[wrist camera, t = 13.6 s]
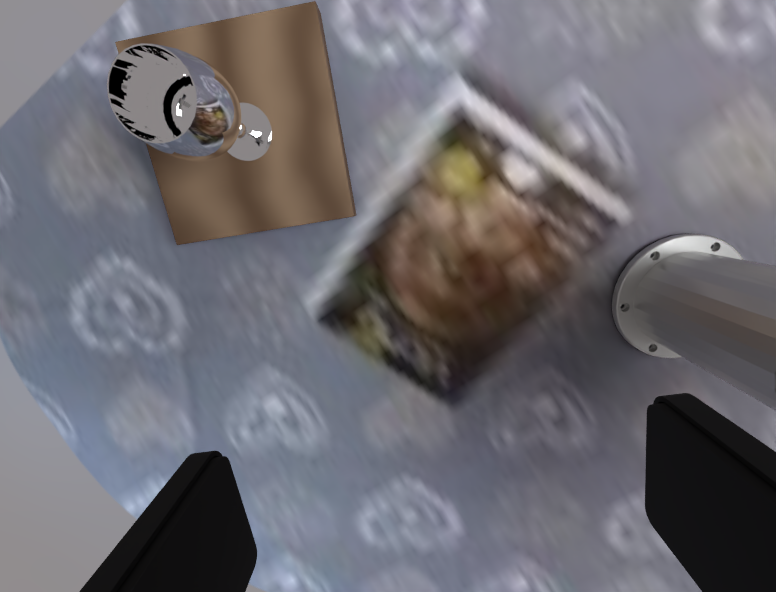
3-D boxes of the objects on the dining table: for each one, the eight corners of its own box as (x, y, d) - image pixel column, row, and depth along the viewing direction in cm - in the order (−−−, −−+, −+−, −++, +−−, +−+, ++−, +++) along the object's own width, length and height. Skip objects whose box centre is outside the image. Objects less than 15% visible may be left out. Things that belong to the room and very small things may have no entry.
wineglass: (295, 134, 31) (231, 98, 19) (248, 184, 32) (161, 178, 20) (242, 76, 30) (142, 1, 18) (196, 130, 31) (73, 91, 19)
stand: (326, 26, 33) (315, 1, 28) (359, 213, 37) (353, 216, 32) (151, 61, 34) (115, 41, 29) (202, 239, 38) (176, 245, 33)
